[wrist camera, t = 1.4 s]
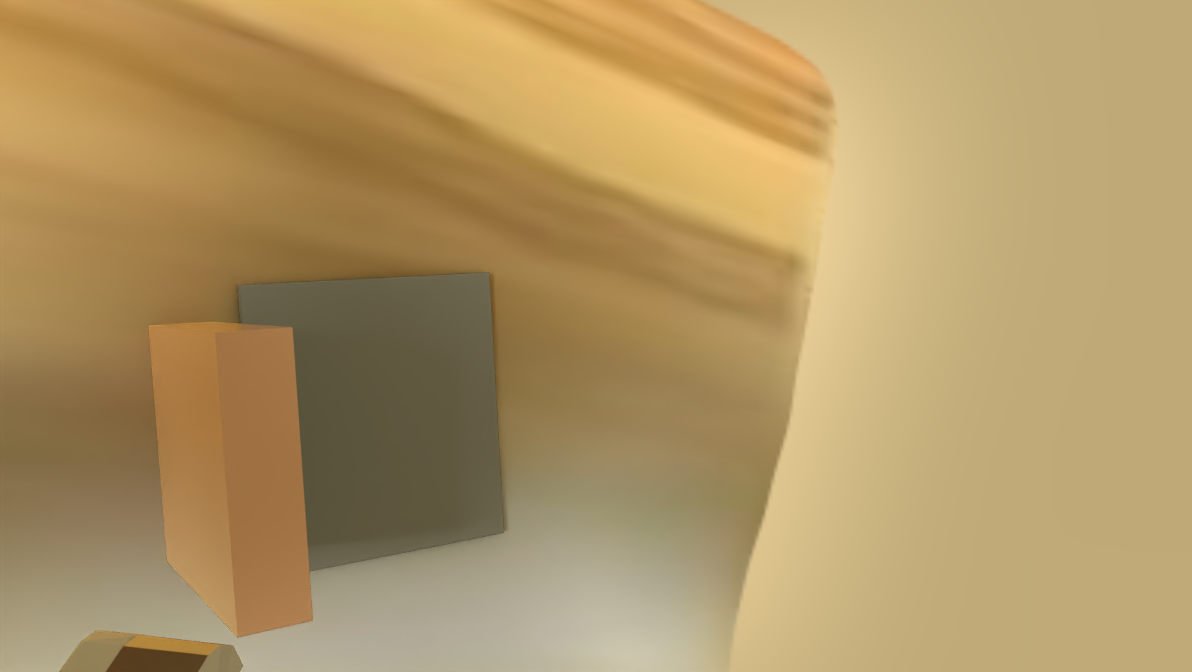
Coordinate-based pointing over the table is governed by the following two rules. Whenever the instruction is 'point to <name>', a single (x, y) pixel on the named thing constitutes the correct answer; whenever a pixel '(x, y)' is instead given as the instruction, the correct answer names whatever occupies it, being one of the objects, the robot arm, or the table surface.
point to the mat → (391, 410)
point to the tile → (233, 469)
